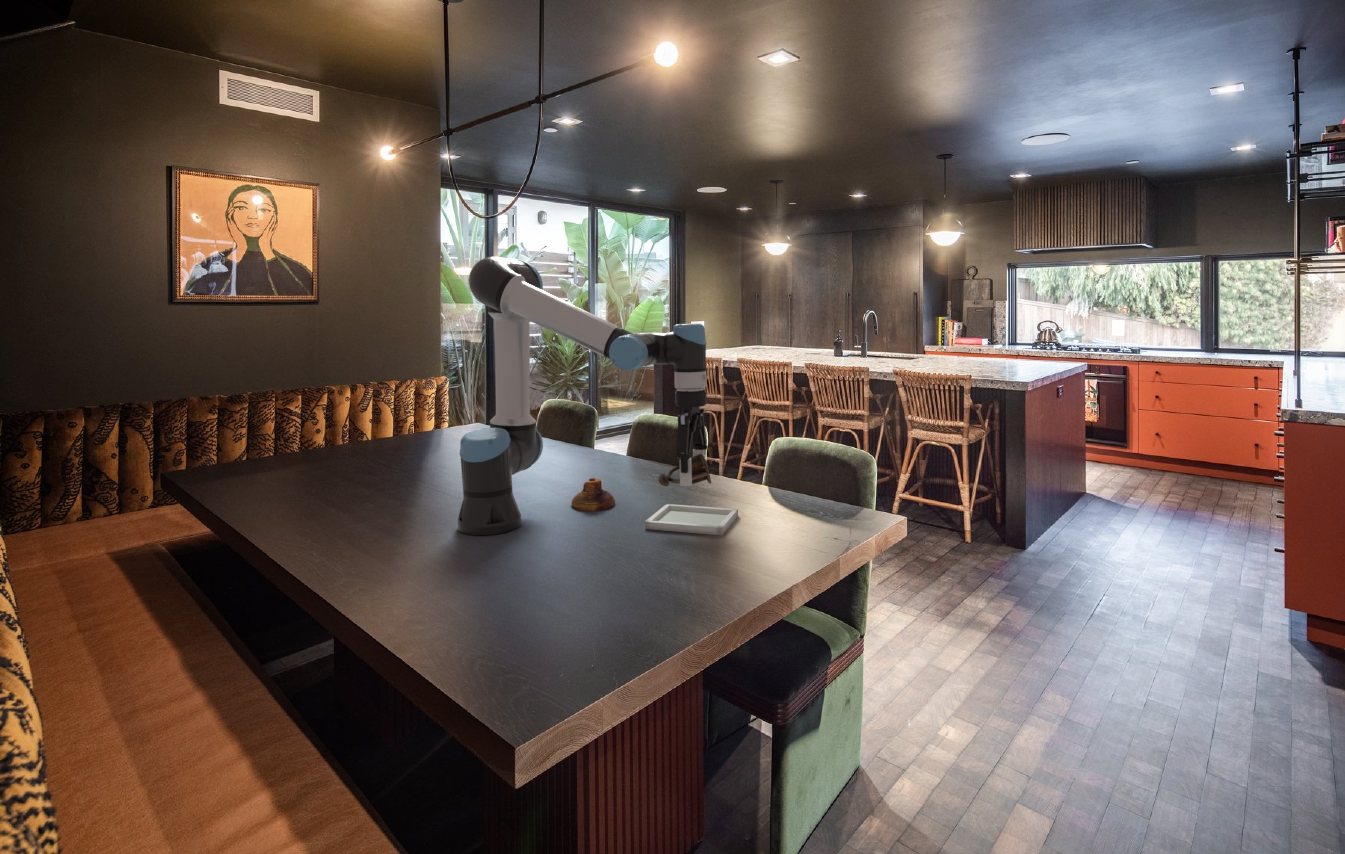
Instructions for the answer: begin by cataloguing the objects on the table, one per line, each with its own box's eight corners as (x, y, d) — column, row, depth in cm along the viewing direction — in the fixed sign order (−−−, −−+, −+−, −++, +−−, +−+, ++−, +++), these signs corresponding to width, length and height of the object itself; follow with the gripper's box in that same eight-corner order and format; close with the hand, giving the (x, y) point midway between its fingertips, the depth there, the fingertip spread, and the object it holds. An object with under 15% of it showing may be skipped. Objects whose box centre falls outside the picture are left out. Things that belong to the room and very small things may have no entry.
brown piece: (711, 467, 165) (715, 449, 174) (656, 461, 167) (664, 444, 176) (709, 494, 168) (713, 476, 177) (656, 488, 170) (663, 470, 179)
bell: (598, 514, 184) (597, 486, 183) (562, 508, 190) (561, 481, 189) (624, 503, 194) (623, 477, 193) (589, 497, 200) (588, 472, 199)
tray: (644, 528, 170) (644, 521, 170) (666, 510, 185) (666, 503, 185) (722, 535, 164) (721, 527, 164) (738, 516, 179) (738, 509, 179)
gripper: (691, 395, 157) (693, 492, 161) (718, 384, 179) (719, 471, 182) (660, 394, 160) (662, 490, 163) (689, 384, 181) (691, 469, 185)
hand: (692, 480), depth 173 cm, fingers closed on brown piece, 10 cm apart
